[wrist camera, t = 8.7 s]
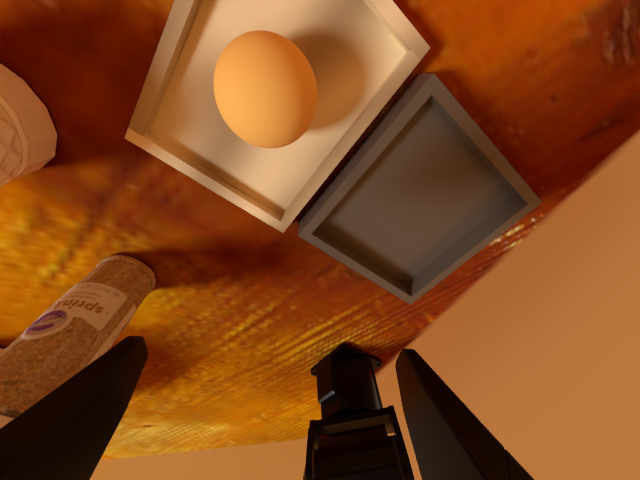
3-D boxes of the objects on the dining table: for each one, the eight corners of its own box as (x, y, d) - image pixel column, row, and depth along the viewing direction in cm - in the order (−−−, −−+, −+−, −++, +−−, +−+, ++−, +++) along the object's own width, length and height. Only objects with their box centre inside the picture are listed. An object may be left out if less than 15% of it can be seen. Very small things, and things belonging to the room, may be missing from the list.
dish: (519, 190, 20) (542, 202, 18) (402, 287, 24) (410, 304, 23) (417, 73, 15) (433, 72, 13) (298, 221, 20) (297, 235, 18)
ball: (331, 84, 15) (345, 85, 10) (284, 154, 17) (279, 179, 12) (256, 13, 13) (235, -21, 9) (211, 102, 15) (178, 110, 10)
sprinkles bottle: (135, 246, 20) (-79, 456, 9) (168, 286, 23) (34, 491, 11) (86, 261, 21) (-176, 478, 9) (124, 298, 23) (-47, 507, 12)
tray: (419, 50, 14) (430, 47, 13) (284, 223, 20) (283, 233, 19) (249, -155, 10) (242, -187, 9) (138, 133, 16) (124, 138, 15)
